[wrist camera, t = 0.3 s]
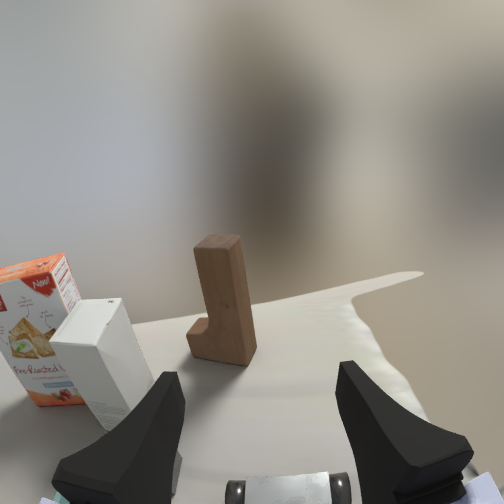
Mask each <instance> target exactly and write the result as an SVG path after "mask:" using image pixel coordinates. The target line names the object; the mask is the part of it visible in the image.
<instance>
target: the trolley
mask: <svg viewBox="0 0 504 504" xmlns="http://www.w3.org/2000/svg"><path fill="white" fill-rule="evenodd" d="M351 502H352V498H351V486H350V481H349V477H348V474H347V472H343V473H337V474H330V475H329V474H328V472H322V473H313V474H304V475H292V476H278V477H246V481H236V480H229V481H228V483H227V486H226V492H225V504H351Z"/></svg>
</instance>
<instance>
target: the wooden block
mask: <svg viewBox="0 0 504 504" xmlns="http://www.w3.org/2000/svg"><path fill="white" fill-rule="evenodd" d="M194 255H195V260H196V265H197V269H198V274H199V279H200V283H201V287H202V292H203V296H204V301H205V305H206V309H207V313H208V317H207V318H199V319H198V320H197V321H196V322H195V323H194V325H193V326H192V327H191V329H190V330H189V331H188V332H187V334H186V337H187V340H188V343H189V347H190V350H191V353H192V355H193V356H194V357H198V358H203V359H208V360H213V361H219V362H224V363H230V364H236V365H242V366H247V365H248V364H249V362H250V360H251V358H252V356H253V354H254V352H255V350H256V348H257V344H256V338H255V331H254V324H253V318H252V311H251V304H250V298H249V292H248V285H247V278H246V271H245V264H244V257H243V251H242V244H241V237H240V236H239V235H208V236H207V237H206V238H205V239H204V240H203V241H201V242H200V243H199V244H198V245H197V246H195V247H194Z"/></svg>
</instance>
